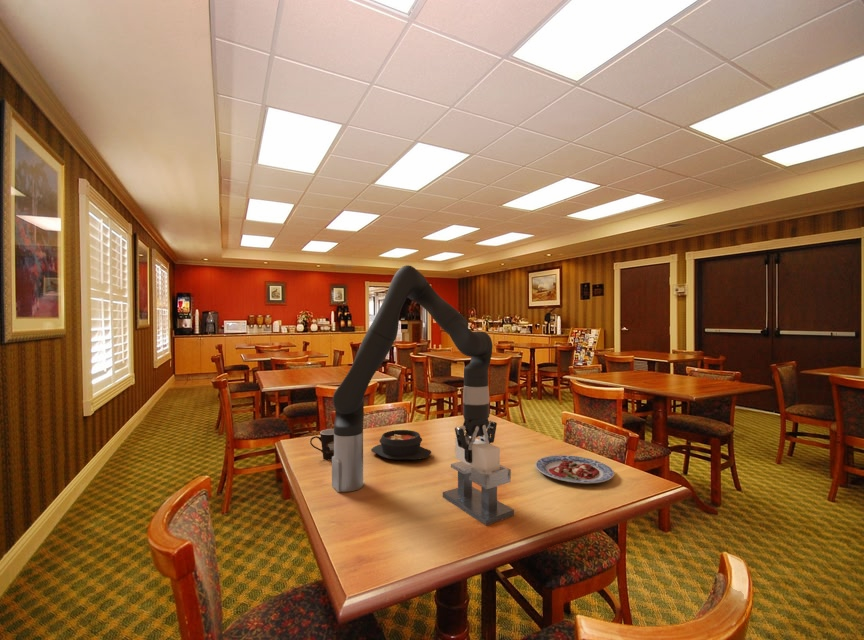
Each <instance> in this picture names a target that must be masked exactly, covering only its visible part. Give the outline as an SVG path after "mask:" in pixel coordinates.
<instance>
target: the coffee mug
mask: <svg viewBox="0 0 864 640" xmlns="http://www.w3.org/2000/svg"><path fill="white" fill-rule="evenodd" d="M319 434H320V436H318V435H315V436H312V437H311V438H310V442H309V443H310V445H311V446H312V447H313V448H314V449H315V450H318V451H320V452H321V453H322V457H323V458H322V459H323V460H325V461H332V456H334V428H329V429H323V430H320V433H319ZM314 439H318V440H319V442H320V444H321V448H319V447H317V446H316V445H314V444H313V443H312V441H313V440H314Z"/></svg>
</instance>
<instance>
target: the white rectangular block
mask: <svg viewBox="0 0 864 640" xmlns="http://www.w3.org/2000/svg"><path fill="white" fill-rule="evenodd" d="M469 437H470V438H471V436H469ZM454 439H455V441H454V443H455V445H454V450H455V451H454V452H455V459H456V460H458V461H459V462H461V461H462V462H464V463H466V464H468V465H470V466H472V467H474V468H476V469H478V470H480V471H482V472H484V473H489V472H492V471H496V470H500V465H501V460H500V459H501V457H500V454H501V451H500V450H501V449H500V448H501V447H499V446H497V445H494V444H493V443H490V444H489V443H486V442H484V441H481V440H480V438H479V439H478V438H476V439H475V442H473V445H472V449H471V450H472V463H468V462H466V460H465V450H464V449H463V448H461V447H459V446H458V442H457V437H455V438H454ZM468 444H469V443H468Z"/></svg>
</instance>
